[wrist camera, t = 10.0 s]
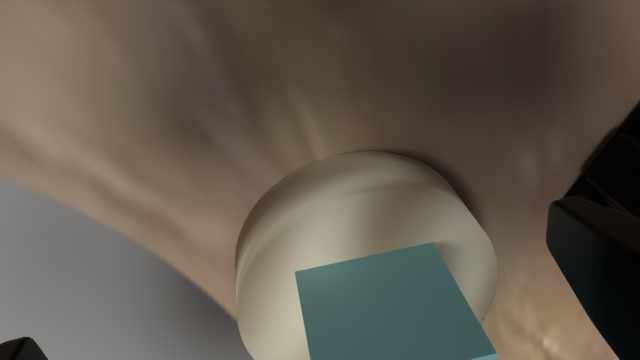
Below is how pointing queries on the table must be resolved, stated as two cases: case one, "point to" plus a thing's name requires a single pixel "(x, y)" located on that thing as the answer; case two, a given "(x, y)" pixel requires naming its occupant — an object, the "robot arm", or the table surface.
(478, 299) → the birch riser
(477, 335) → the teal block
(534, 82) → the table surface
